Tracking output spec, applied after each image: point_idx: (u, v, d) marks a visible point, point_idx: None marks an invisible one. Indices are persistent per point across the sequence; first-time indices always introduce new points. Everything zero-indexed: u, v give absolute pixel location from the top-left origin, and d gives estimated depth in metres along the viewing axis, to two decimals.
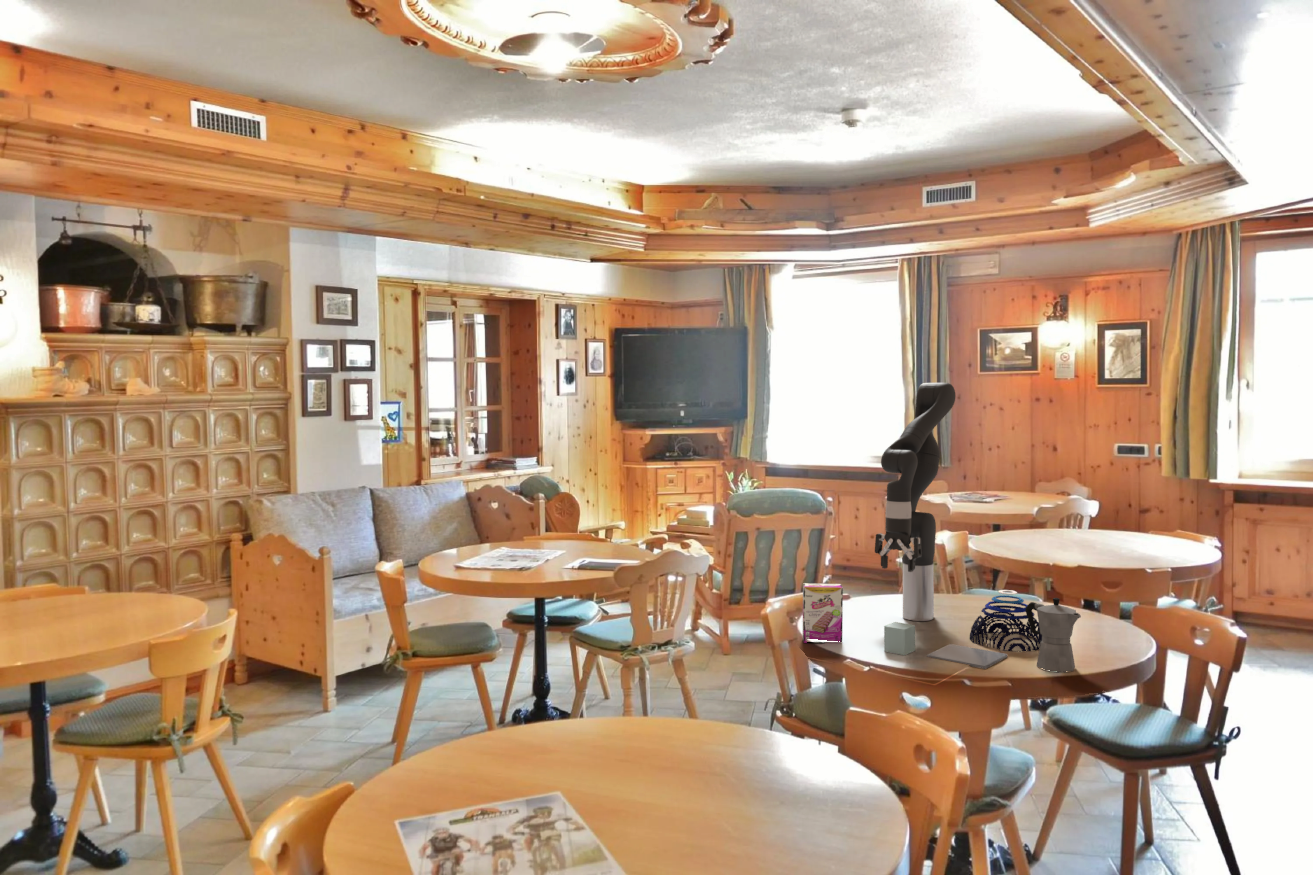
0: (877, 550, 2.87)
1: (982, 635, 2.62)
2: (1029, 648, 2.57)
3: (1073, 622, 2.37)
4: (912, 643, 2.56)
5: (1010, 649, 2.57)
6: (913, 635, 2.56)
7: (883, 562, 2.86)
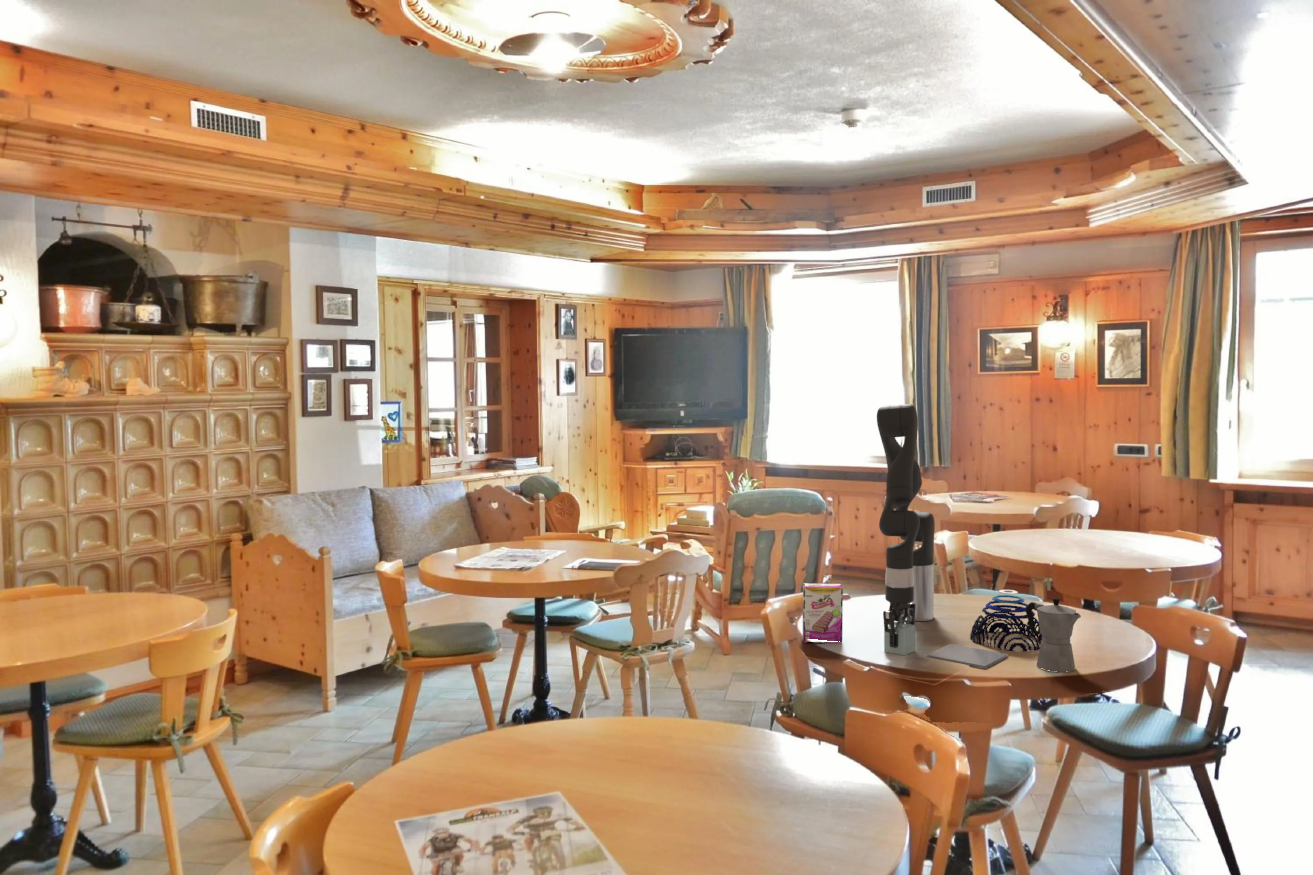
0: (894, 629, 2.52)
1: (983, 635, 2.62)
2: (1030, 648, 2.57)
3: (1073, 622, 2.37)
4: (912, 643, 2.56)
5: (1011, 649, 2.57)
6: (913, 635, 2.56)
7: (897, 640, 2.54)
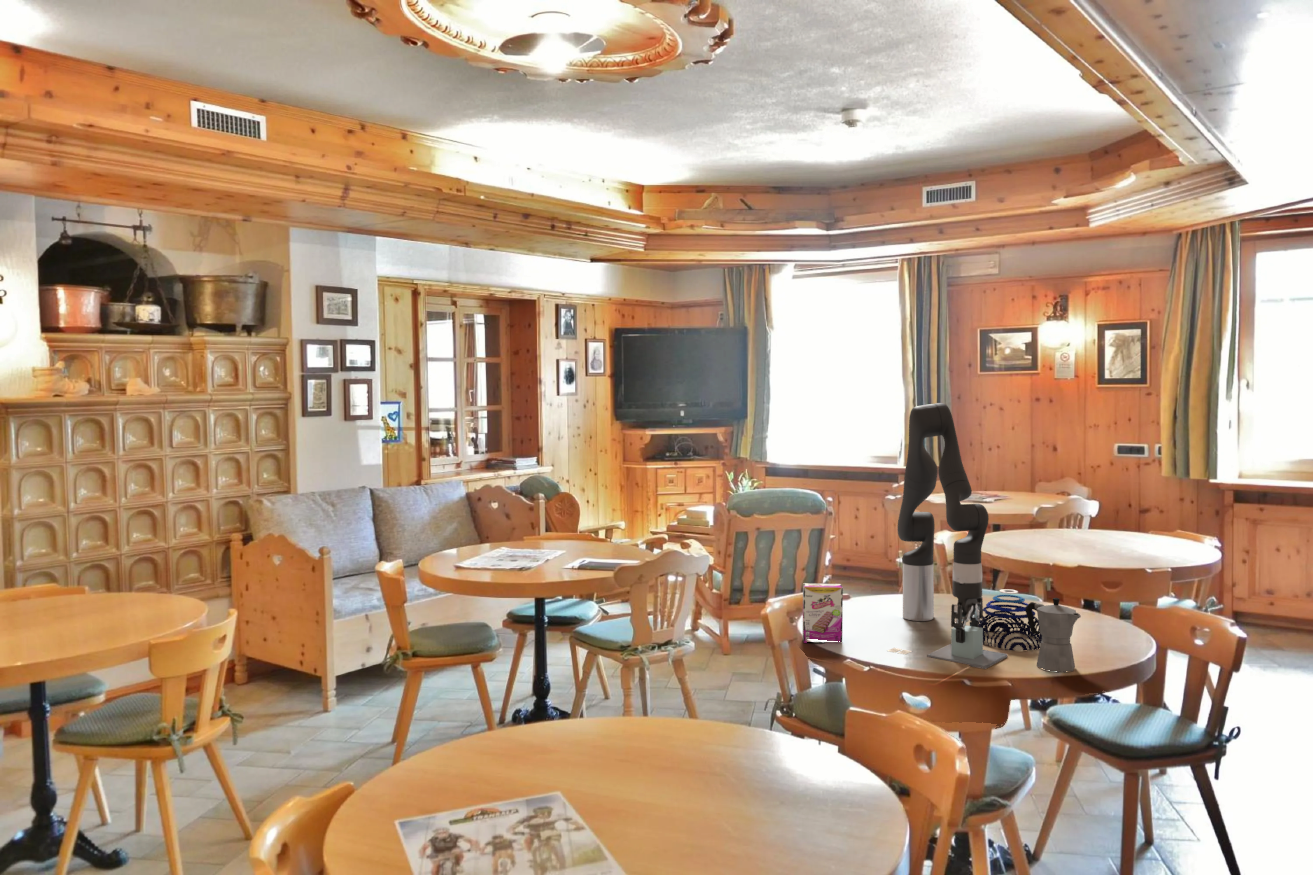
0: (961, 624, 2.46)
1: (983, 634, 2.63)
2: (1030, 647, 2.58)
3: (1073, 622, 2.37)
4: (980, 646, 2.50)
5: (1011, 648, 2.58)
6: (981, 638, 2.51)
7: (964, 636, 2.47)
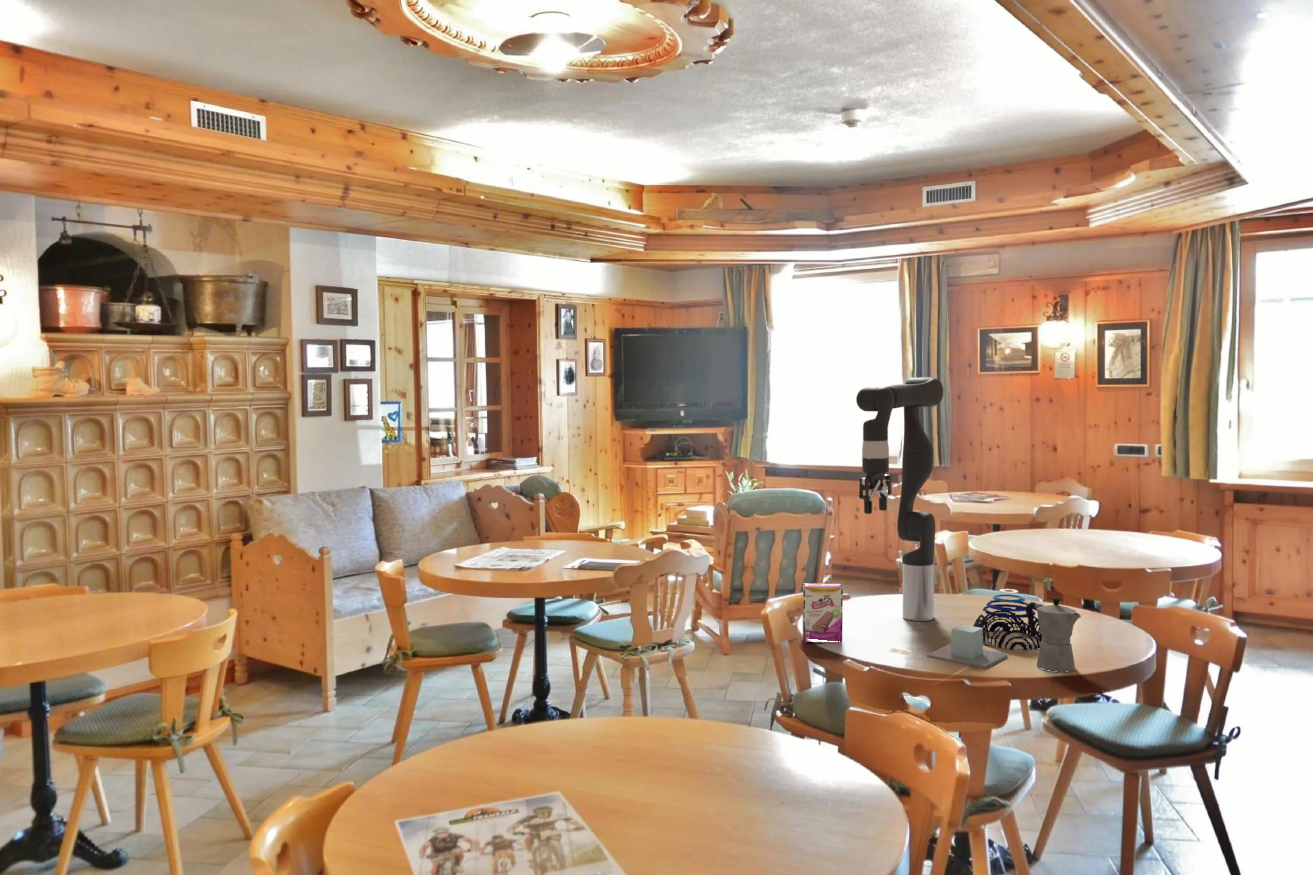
0: (868, 495, 2.68)
1: (983, 634, 2.63)
2: (1030, 647, 2.58)
3: (1073, 622, 2.37)
4: (980, 646, 2.50)
5: (1011, 648, 2.58)
6: (981, 638, 2.51)
7: (871, 507, 2.70)
